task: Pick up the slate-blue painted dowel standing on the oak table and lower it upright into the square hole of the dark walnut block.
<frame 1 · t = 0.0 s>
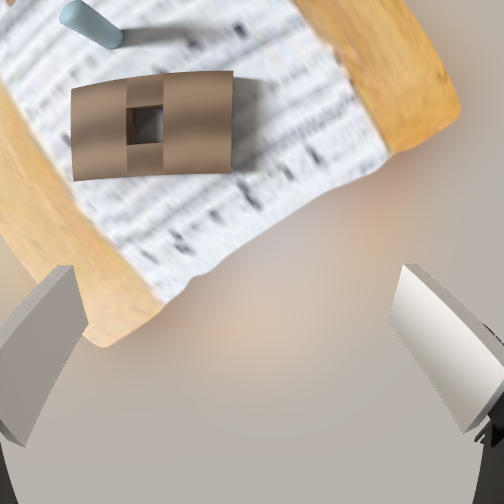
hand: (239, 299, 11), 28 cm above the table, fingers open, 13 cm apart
peg: (113, 39, 27), on the table
hole block: (151, 125, 33), on the table
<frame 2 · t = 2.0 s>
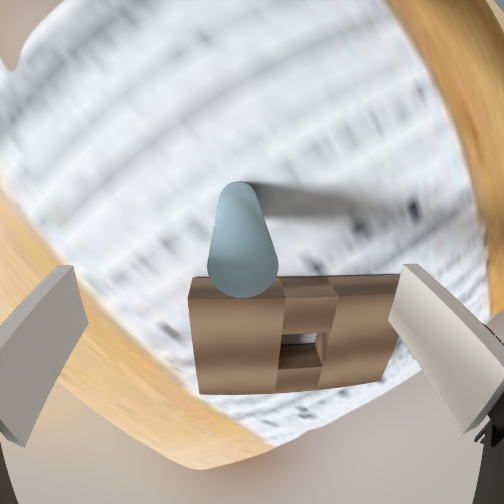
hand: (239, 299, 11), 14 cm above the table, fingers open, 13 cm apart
peg: (238, 200, 23), on the table
hole block: (296, 328, 29), on the table
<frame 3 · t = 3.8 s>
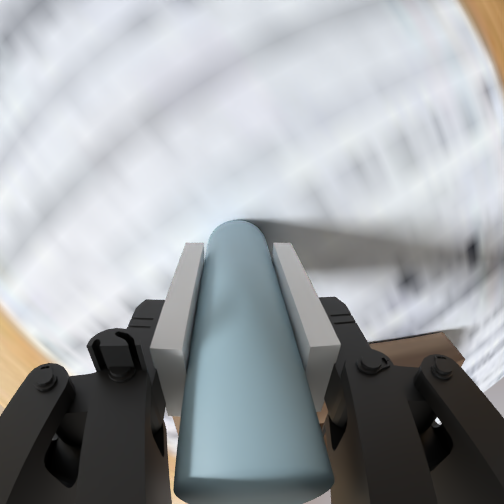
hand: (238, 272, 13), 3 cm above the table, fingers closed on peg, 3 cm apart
peg: (237, 248, 15), on the table, touching gripper
hole block: (314, 403, 21), on the table
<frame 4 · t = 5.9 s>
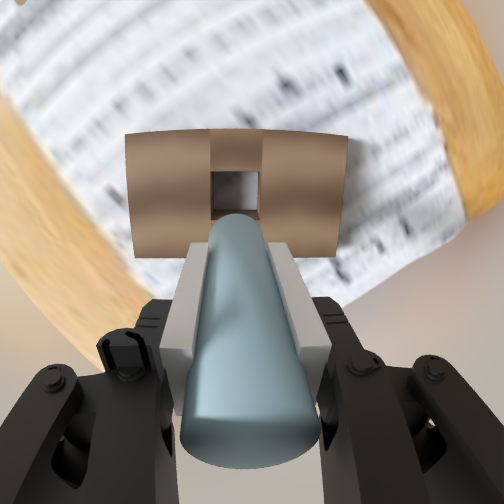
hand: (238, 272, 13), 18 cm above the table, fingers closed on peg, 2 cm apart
peg: (236, 240, 16), point 14 cm above the table, touching gripper
hole block: (235, 188, 29), on the table
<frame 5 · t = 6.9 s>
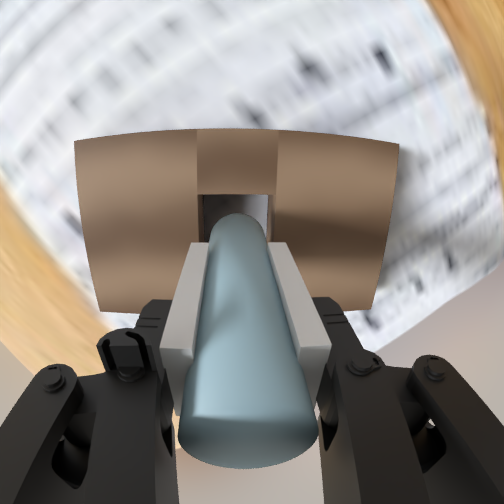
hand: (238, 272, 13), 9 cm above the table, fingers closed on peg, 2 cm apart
peg: (237, 239, 16), point 5 cm above the table, touching gripper
hole block: (235, 215, 21), on the table
when the fingers open (5 cm above the table, at t = 8.0 s): peg drops 1 cm, resting in hole block.
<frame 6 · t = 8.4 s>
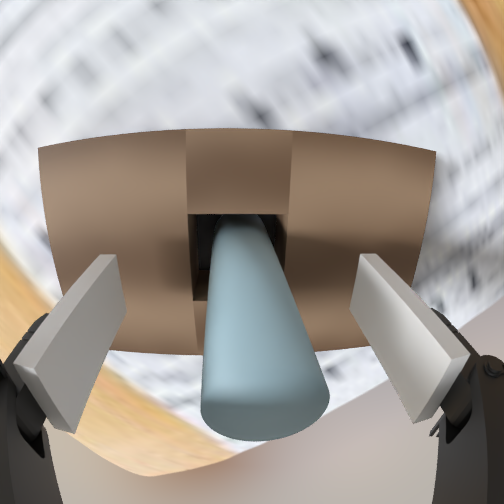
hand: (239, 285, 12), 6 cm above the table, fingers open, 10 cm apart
peg: (239, 234, 17), resting in hole block
hole block: (236, 235, 17), on the table
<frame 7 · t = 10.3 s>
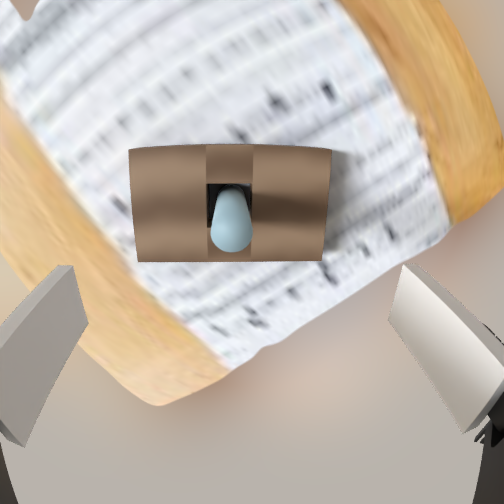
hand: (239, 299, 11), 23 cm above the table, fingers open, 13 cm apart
peg: (231, 197, 32), resting in hole block
hole block: (229, 198, 32), on the table
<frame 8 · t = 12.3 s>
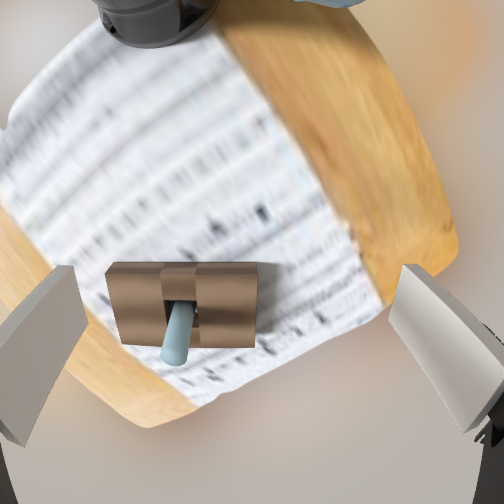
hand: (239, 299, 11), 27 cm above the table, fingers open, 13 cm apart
peg: (186, 300, 41), resting in hole block
hole block: (184, 300, 41), on the table
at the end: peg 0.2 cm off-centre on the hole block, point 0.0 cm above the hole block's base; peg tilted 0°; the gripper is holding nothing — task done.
